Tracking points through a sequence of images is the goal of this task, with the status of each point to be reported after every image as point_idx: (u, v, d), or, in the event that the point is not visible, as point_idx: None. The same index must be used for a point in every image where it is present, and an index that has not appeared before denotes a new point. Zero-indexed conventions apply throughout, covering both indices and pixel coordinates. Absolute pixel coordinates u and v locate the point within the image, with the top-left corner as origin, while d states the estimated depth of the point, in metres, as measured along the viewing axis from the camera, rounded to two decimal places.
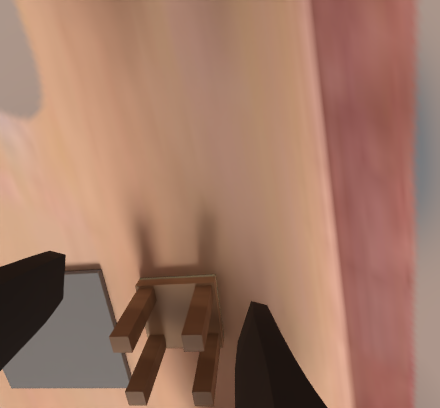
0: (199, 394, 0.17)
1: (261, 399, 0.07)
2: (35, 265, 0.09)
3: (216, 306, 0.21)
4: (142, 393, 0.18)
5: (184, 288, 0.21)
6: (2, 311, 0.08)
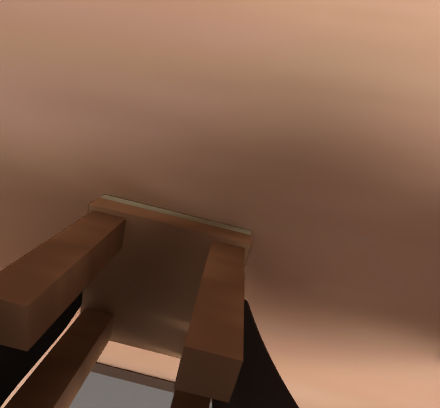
0: (188, 376, 0.06)
1: None
2: None
3: (145, 219, 0.10)
4: None
5: None
6: None
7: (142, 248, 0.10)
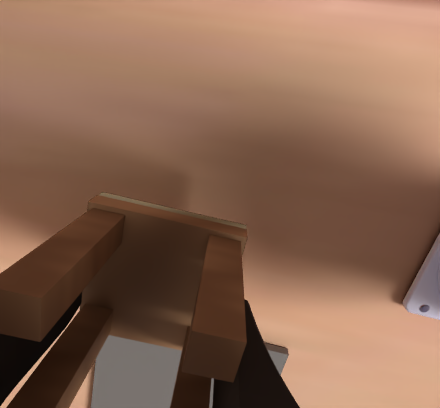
0: (195, 359, 0.06)
1: (231, 391, 0.07)
2: None
3: (144, 215, 0.10)
4: None
5: None
6: None
7: (141, 244, 0.11)
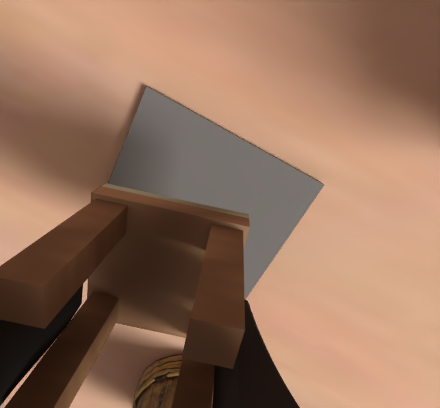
0: (194, 346, 0.06)
1: (231, 391, 0.07)
2: None
3: (147, 206, 0.10)
4: None
5: None
6: None
7: (145, 234, 0.11)
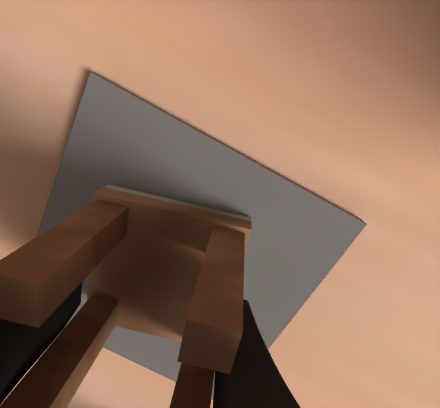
0: (190, 349, 0.06)
1: (232, 391, 0.07)
2: None
3: (148, 207, 0.10)
4: None
5: None
6: None
7: (145, 235, 0.11)
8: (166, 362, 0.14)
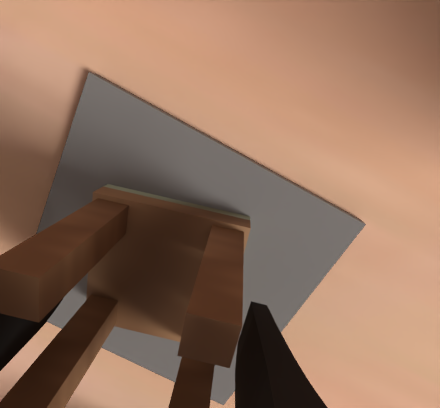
0: (190, 342, 0.06)
1: (261, 399, 0.07)
2: None
3: (148, 206, 0.10)
4: None
5: None
6: None
7: (145, 234, 0.11)
8: (165, 363, 0.14)
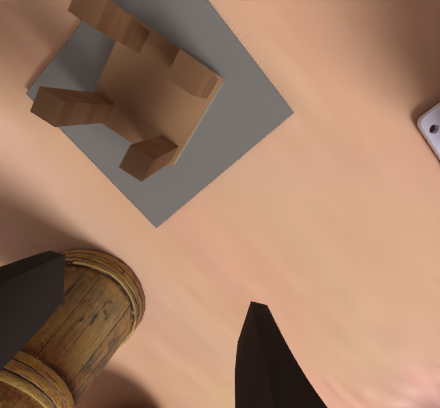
0: (175, 70, 0.11)
1: (261, 399, 0.07)
2: (35, 265, 0.09)
3: (162, 37, 0.15)
4: (132, 148, 0.12)
5: (117, 57, 0.16)
6: (2, 311, 0.08)
7: (152, 58, 0.16)
8: (126, 179, 0.19)
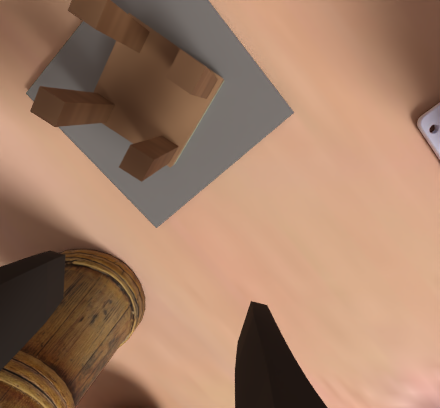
0: (175, 70, 0.11)
1: (261, 399, 0.07)
2: (35, 265, 0.09)
3: (162, 37, 0.15)
4: (132, 148, 0.12)
5: (117, 57, 0.16)
6: (2, 311, 0.08)
7: (152, 58, 0.16)
8: (126, 179, 0.19)
